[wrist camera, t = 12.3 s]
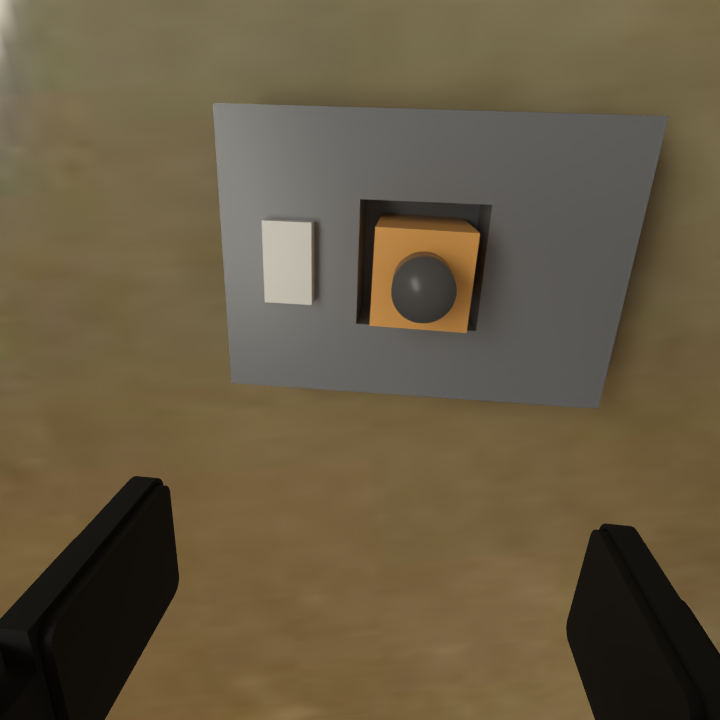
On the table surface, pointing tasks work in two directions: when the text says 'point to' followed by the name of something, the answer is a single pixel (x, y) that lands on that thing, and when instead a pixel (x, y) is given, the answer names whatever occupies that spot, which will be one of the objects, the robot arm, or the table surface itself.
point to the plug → (423, 272)
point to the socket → (431, 198)
